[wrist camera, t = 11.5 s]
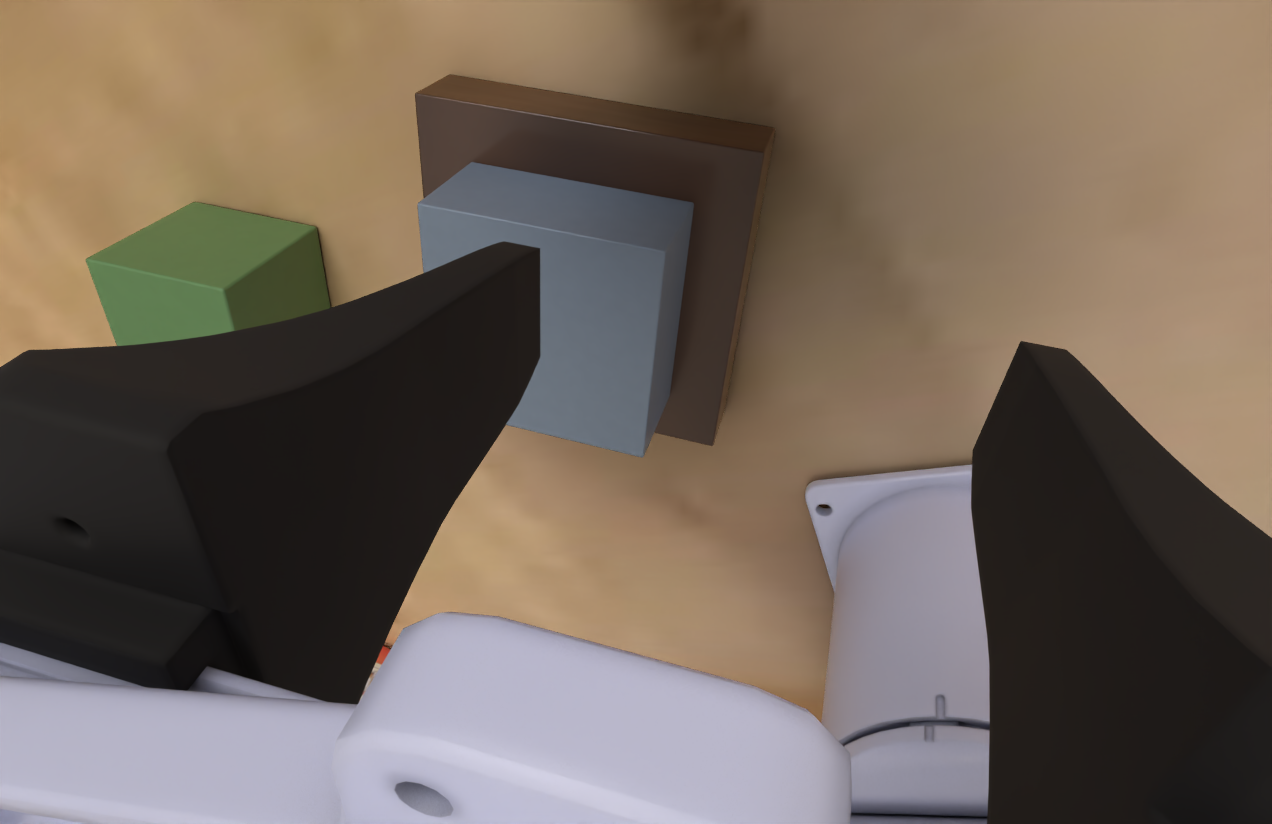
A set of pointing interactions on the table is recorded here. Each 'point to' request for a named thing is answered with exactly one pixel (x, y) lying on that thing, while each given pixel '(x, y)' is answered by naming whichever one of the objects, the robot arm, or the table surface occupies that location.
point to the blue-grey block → (580, 293)
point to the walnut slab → (634, 161)
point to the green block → (208, 275)
